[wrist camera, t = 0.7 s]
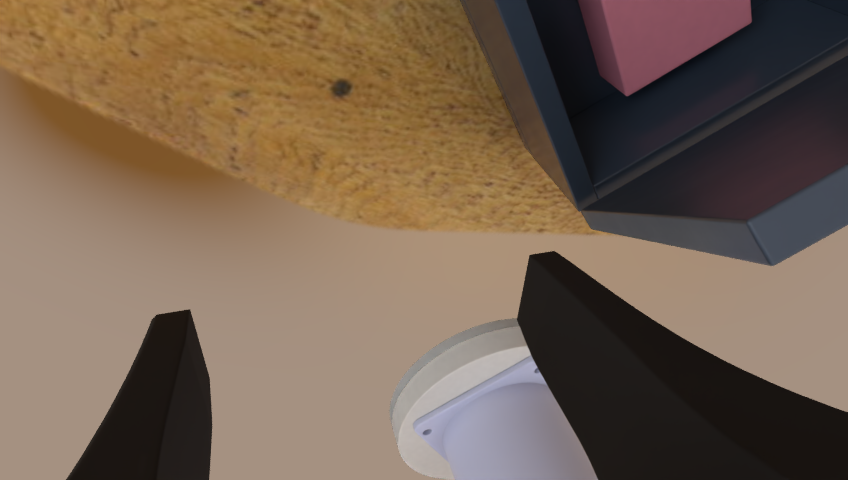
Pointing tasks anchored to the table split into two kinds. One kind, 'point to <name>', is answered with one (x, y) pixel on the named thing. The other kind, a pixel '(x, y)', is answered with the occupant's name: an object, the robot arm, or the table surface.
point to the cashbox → (651, 105)
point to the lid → (748, 181)
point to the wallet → (656, 35)
